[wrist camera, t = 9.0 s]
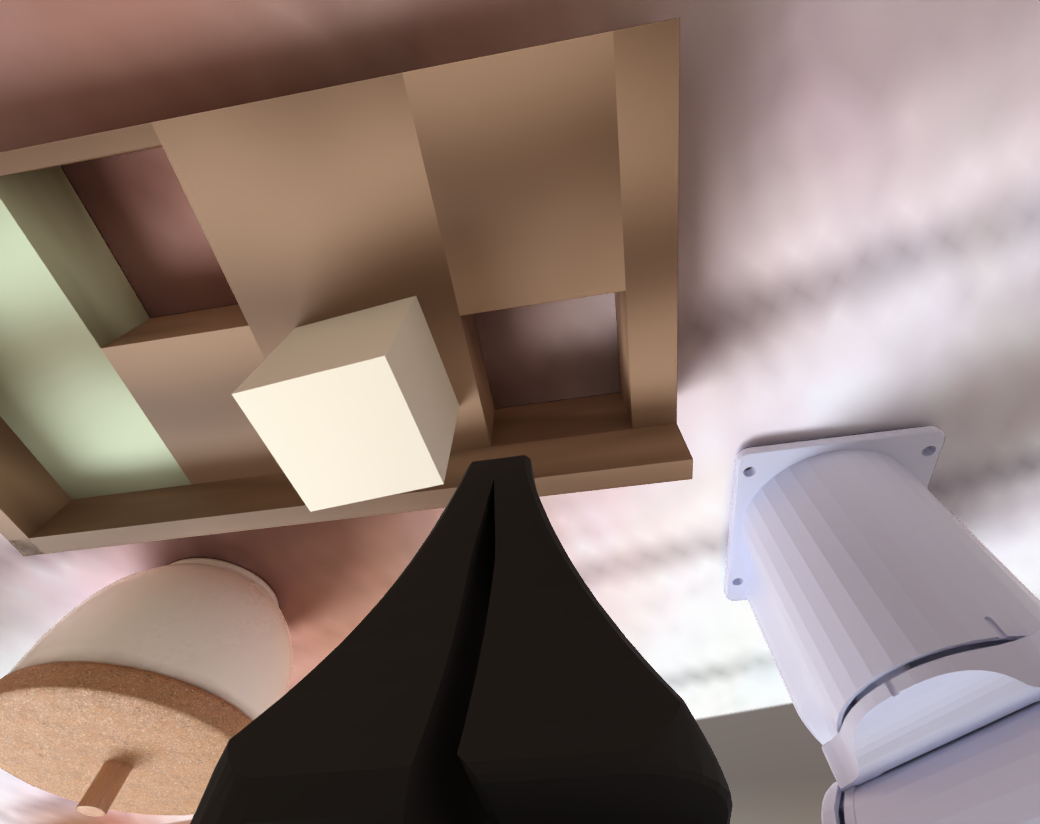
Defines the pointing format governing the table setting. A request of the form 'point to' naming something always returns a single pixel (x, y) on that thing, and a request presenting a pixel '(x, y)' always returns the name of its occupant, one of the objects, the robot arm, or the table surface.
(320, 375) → the cream block
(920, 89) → the table surface
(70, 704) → the lidded jar
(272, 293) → the board
